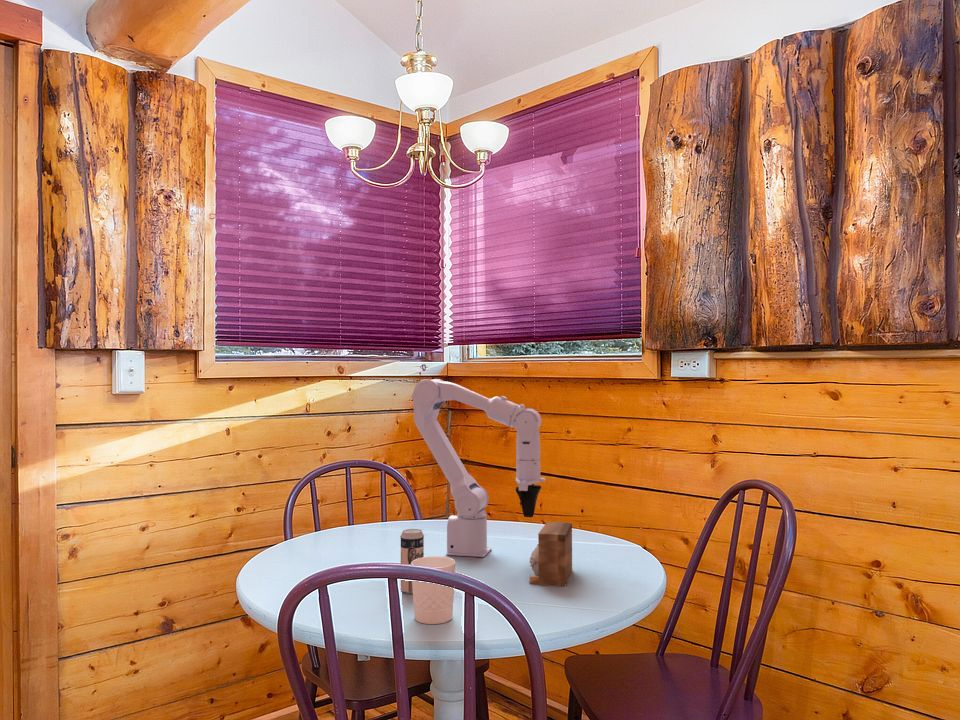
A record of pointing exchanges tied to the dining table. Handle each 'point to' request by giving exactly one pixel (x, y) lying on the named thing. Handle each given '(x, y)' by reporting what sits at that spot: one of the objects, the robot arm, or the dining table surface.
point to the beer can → (411, 552)
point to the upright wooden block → (554, 554)
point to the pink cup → (433, 593)
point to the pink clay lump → (535, 561)
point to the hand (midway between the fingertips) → (528, 516)
